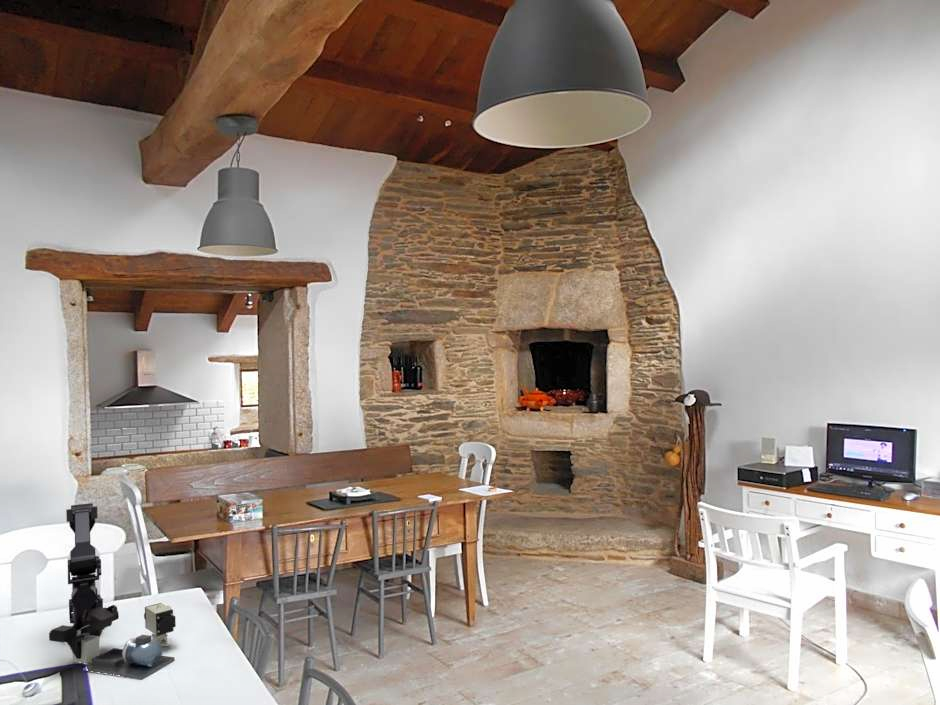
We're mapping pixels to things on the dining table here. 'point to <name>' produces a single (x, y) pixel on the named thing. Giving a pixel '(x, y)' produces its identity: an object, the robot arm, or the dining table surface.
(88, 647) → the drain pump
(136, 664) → the motor mount
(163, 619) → the pneumatic valve
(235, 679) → the dining table surface
